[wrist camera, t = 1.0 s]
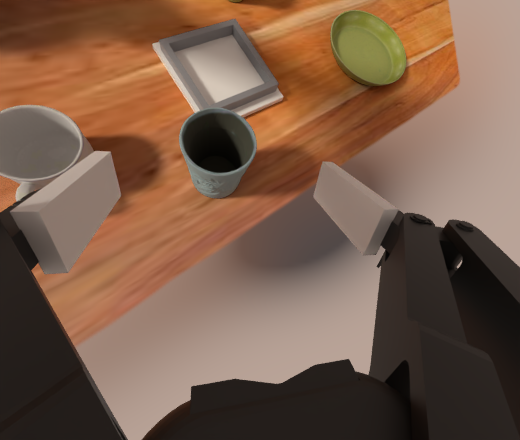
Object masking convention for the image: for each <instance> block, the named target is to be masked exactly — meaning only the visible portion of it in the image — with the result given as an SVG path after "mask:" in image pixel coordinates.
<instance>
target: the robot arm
mask: <svg viewBox="0 0 520 440" xmlns="http://www.w3.org/2000/svg"><path fill="white" fill-rule="evenodd" d="M120 197H121V192H120V188H119V184H118V180H117V176H116V172H115V168H114V163H113V159H112V155H111V152H108V151H94V152H93V153H92V154H90V155H89V156H87V157H86V158H84V159H83V160H82V161H80V162H79V163H77V164H76V165H75V166H73V167H72V168H70V169H69V170H68V171H66V172H65V173H63V174H62V175H61V176H59V177H58V178H56V179H55V180H53V181H52V182H51V183H49V184H48V185H46V186H45V187H44V188H41V189H39V190H36V191H33V192H31V193H29V194H27V195H26V196H24V197H23V198H21V199H20V200H18V201H17V202H15V203H14V204H13V206H10V207H8V208H7V209H5V210H4V211H2V212H1V213H0V440H128V439H127V438H126V436H125V434H124V432H123V431H122V429H121V427H120V426H119V424H118V422H117V421H116V419H115V417H114V415H113V414H112V412H111V410H110V408H109V407H108V405H107V403H106V401H105V400H104V398H103V396H102V394H101V393H100V391H99V389H98V387H97V386H96V384H95V382H94V380H93V379H92V377H91V375H90V373H89V371H88V370H87V368H86V366H85V364H84V363H83V361H82V359H81V357H80V356H79V354H78V352H77V350H76V349H75V347H74V345H73V343H72V342H71V340H70V338H69V336H68V334H67V333H66V331H65V329H64V327H63V326H62V324H61V322H60V320H59V319H58V317H57V315H56V313H55V312H54V310H53V308H52V306H51V305H50V303H49V301H48V299H47V298H46V296H45V294H44V292H43V290H42V289H41V287H40V285H39V283H38V282H37V280H36V278H35V276H34V275H33V273H32V271H31V270H32V269H33V268H34V267H35V266H36V264H37V263H39V265H40V267H41V268H42V270H43V272H44V274H56V273H68V272H69V271H70V269H71V268H72V267H73V265H74V264H75V262H76V261H77V259H78V258H79V256H80V255H81V253H82V252H83V251H84V249H85V248H86V246H87V245H88V243H89V242H90V240H91V239H92V237H93V236H94V235H95V233H96V232H97V230H98V229H99V227H100V226H101V224H102V223H103V221H104V220H105V219H106V217H107V216H108V214H109V213H110V211H111V210H112V208H113V207H114V205H115V204H116V203H117V201H118V200H119V198H120ZM314 199H315V200H316V201H317V202H318V203H319V204H320V205H321V207H322V208H323V209H324V210H325V211H326V213H327V214H328V215H329V216H330V217H331V218H332V220H333V221H334V222H335V223H336V224H337V225H338V227H339V228H340V229H341V230H342V231H343V232H344V234H345V235H346V236H347V237H348V238H349V239H350V240H351V242H352V243H353V244H354V245H355V246H356V248H357V249H358V250H359V251H360V252H361V253H362V254H363V255H376V254H377V252H378V250H379V247H380V246H382V247H383V248H384V249H385V252H384V254H383V256H382V258H381V260H380V262H379V263H378V265H377V267H378V268H379V267H380V266H381V274H380V283H379V292H378V301H377V310H376V320H375V329H374V339H373V347H372V356H371V366H370V371H369V375H366V374H363V373H359V372H355V370H354V368H353V366H352V364H351V362H350V360H349V359H346V360H340V361H335V362H329V363H324V364H317V365H314V366H312V367H310V368H309V369H307V370H305V371H303V372H301V373H300V374H298V375H296V376H294V377H292V378H290V379H288V380H287V381H285V382H283V383H280V384H272V383H264V382H256V381H248V380H239V379H232V380H226V381H220V382H215V383H210V384H204V385H197V386H192V387H191V400H190V401H188V402H186V403H184V404H182V405H180V406H179V407H177V408H176V409H174V410H173V411H171V412H170V413H169V414H167V415H166V416H165V417H164V418H163V419H161V420H160V421H159V422H158V423H157V424H156V425H155V426H154V427H153V428H152V429H151V430H150V431H149V432H148V433H147V434H146V435H145V437H144V438H143V439H142V440H520V267H519V266H517V264H515V263H514V262H513V261H512V260H511V259H510V258H509V257H508V256H507V255H506V254H505V253H504V252H503V251H502V250H501V249H500V248H499V247H497V246H496V245H495V244H494V243H493V242H492V241H491V240H490V239H489V238H488V237H487V236H486V235H485V234H484V233H483V232H482V231H480V230H479V229H478V228H476V227H475V226H473V225H472V224H470V223H467V222H465V221H459V220H449V221H448V223H447V224H446V226H445V227H444V228H441V227H435V224H434V223H433V222H432V221H431V220H430V219H428V218H426V217H424V216H422V215H419V214H414V213H405V214H403V213H402V212H401V211H399V209H398V208H396V207H394V206H393V205H392V204H391V203H389V202H388V201H386V200H385V199H384V198H382V197H381V196H379V195H378V194H376V193H375V192H374V191H372V190H371V189H370V188H368V187H366V186H365V185H364V184H362V183H361V182H360V181H358V180H357V179H355V178H354V177H353V176H351V175H350V174H348V173H347V172H346V171H344V170H343V169H341V168H340V167H339V166H337V165H336V164H334V163H333V162H322V165H321V169H320V173H319V177H318V181H317V184H316V189H315V192H314ZM462 259H463V260H462ZM461 260H462V264H461V266H460V267H459V268H458V269H457V266H458V264H459V263H460V262H461Z"/></svg>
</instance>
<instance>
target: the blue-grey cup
mask: <svg viewBox="0 0 520 440" xmlns="http://www.w3.org/2000/svg"><path fill="white" fill-rule="evenodd" d="M179 142H180V147H181V150H182V153H183V155H184V158H185V161H186V163H187V165H188V169H189V172H190V175H191V178H192V181H193V184H194V186H195V187H196V189H197V190H198V191H199V192H200V193H202V194H203V195H205V196H207V197H210V198H223V197H226V196H228V195H230V194H231V193H232V192H234V190H235V189H236V188H237V186H238V184H239V182H240V180H241V177H242V176H243V174H244V173H245V171H246V169H247V168H248V167H249V165H250V164H251V162H252V160H253V158H254V156H255V153H256V149H257V143H256V137H255V134H254V131H253V129H252V128H251V126H250V125H249V123H248V122H247V121H246V120H245V119H244V118H243V117H241V116H240V115H238V114H237V113H235V112H233V111H231V110H228V109H224V108H218V107H216V108H206V109H203V110H200V111H198V112H196V113H194V114H192V115H191V116H190V117H189V118H188V119H187V120H186V121H185V122H184V124H183V126H182V128H181V131H180V136H179Z"/></svg>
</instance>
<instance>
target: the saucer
mask: <svg viewBox="0 0 520 440" xmlns="http://www.w3.org/2000/svg"><path fill="white" fill-rule="evenodd" d="M331 47H332V51H333V54H334V57H335V59H336V61H337V63H338V65H339V66H340V68H341V69H342V70H343V71H344V72H345V73H346V74H347V75H348V76H349V77H350V78H352V79H353V80H355V81H357V82H359V83H361V84H365V85H370V86H382V85H387V84H390V83H393V82H395V81H397V80H398V79H399V78H400V77H401V76H402V75H403V73H404V71H405V68H406V54H405V50H404V47H403V44H402V42H401V40H400V39H399V37H398V36H397V34H396V33H395V31H394V30H393V29H392V28H391V27H390V26H389V25H388V24H387V23H385V22H384V21H383V20H382V19H380V18H378V17H377V16H375V15H373V14H371V13H368V12H365V11H360V10H350V11H346V12H343V13H341V14H340V15H339V16H337V17H336V19H335V20H334V22H333V24H332V27H331Z"/></svg>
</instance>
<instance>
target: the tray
mask: <svg viewBox="0 0 520 440" xmlns="http://www.w3.org/2000/svg"><path fill="white" fill-rule="evenodd" d="M152 45H153V49H154V50H155V52H156V53H157V55H158V57H159V58H160V60H161V61H162V63H163V64H164V66H165V67H166V69H167V71H168V72H169V74H170V75H171V77H172V78H173V80H174V81H175V83H176V84H177V86H178V88H179V89H180V91H181V92H182V94H183V95H184V97H185V98H186V100H187V102H188V103H189V105H190V106H191V108H192V109H193V111H194V112H195V113H196V112H198V111H200V110H203V109H206V108H216V107H218V108H224V109H228V110H231V111H233V112H235V113H237V114H238V115H240V116H241V117H246V116H248V115H250V114H252V113H255V112H257V111H259V110H261V109H264V108H266V107H268V106H271V105H273V104H275V103H277V102H280V101H282V100H283V95H282V94H281V92H280V91H279V89H278V88H277V87H278V85H279V83H278V82H277V80H276V79H275V77H274V76H273V74H272V73H271V71H270V70H269V68H268V67H267V65H266V64H265V62H264V61H263V59H262V58H261V56H260V55H259V54H258V52H257V51H256V49H255V48H254V46H253V45H252V43H251V42H250V40H249V39H248V37H247V36H246V34H245V33H244V31H243V30H242V28H241V27H240V25H239V24H238V22H237V21H236V19H232V20H229V21H225V22H221V23H218V24H214V25H211V26H207V27H203V28H200V29H196V30H193V31H189V32H186V33H182V34H178V35H175V36H171V37H168V38H164V39H160V40H159V42H156V43H153V44H152Z"/></svg>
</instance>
